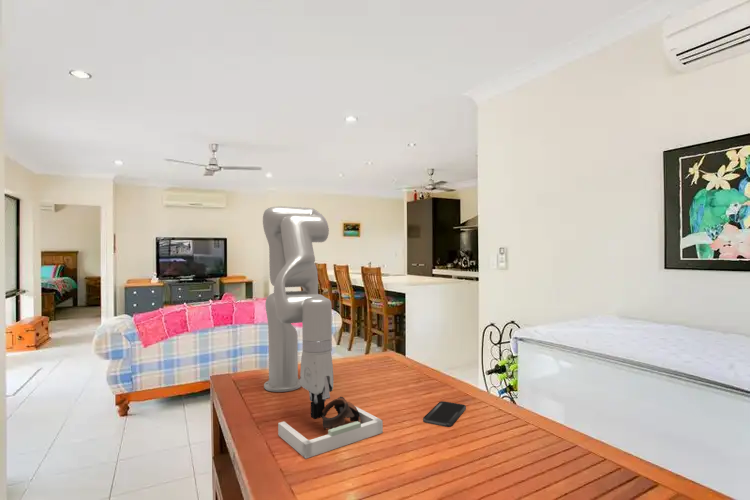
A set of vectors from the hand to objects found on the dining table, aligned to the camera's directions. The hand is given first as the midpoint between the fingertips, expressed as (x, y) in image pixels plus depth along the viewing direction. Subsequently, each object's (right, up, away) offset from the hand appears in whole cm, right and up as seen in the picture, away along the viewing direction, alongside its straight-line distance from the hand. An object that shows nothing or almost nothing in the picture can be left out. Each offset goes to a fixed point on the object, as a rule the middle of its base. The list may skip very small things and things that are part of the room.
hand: (317, 416), depth 105 cm
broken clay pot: (+6, -2, -1) cm, 7 cm away
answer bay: (+4, -2, -5) cm, 7 cm away
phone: (+34, -3, +6) cm, 35 cm away
